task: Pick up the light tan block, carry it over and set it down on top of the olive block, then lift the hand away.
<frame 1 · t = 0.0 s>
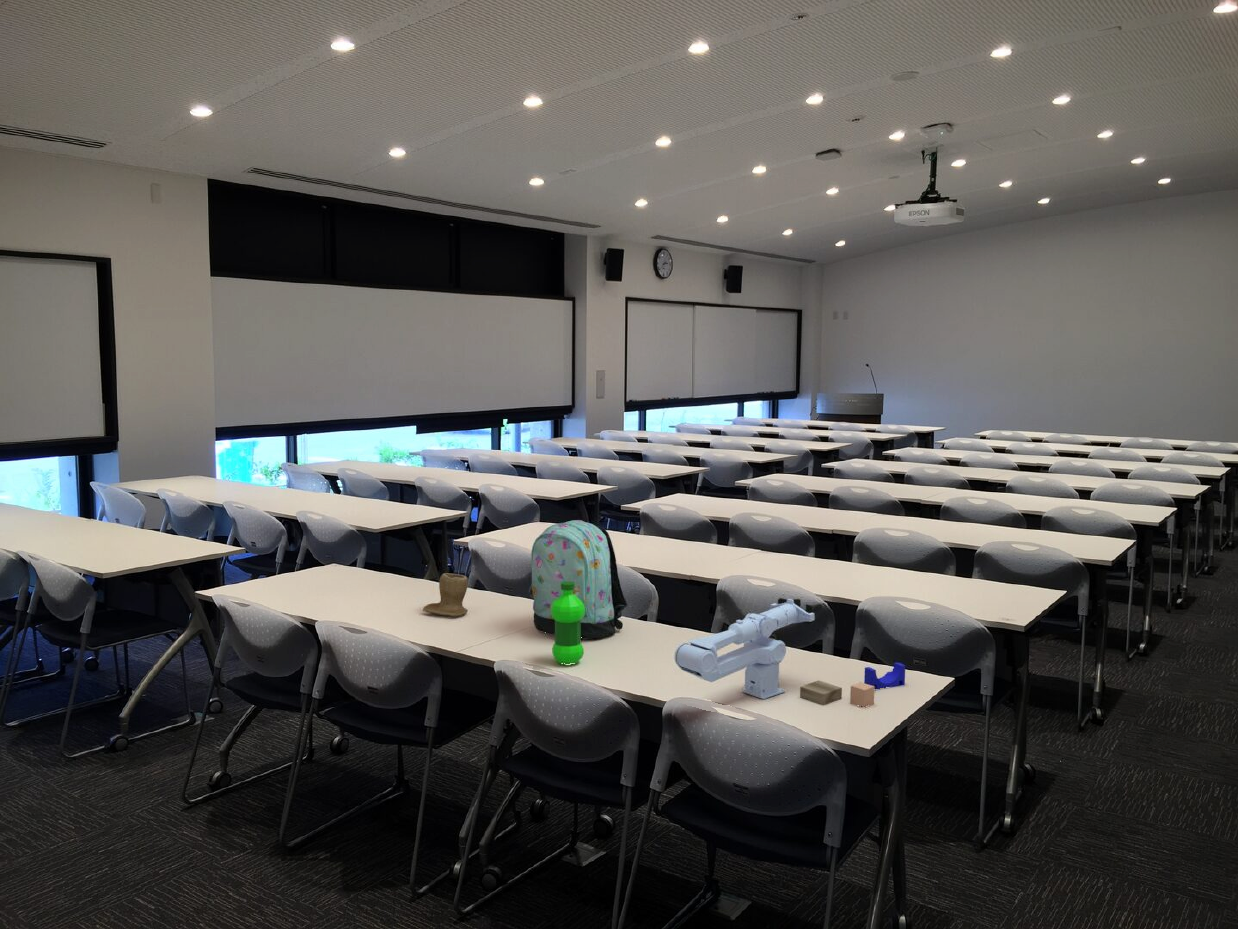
hand: (810, 605, 276), 22 cm above the table, tool horizontal, fingers open, 7 cm apart
blue cradle block: (882, 686, 272), on the table
light tan block: (862, 704, 257), on the table
brown boot: (448, 614, 347), on the table
plastic bottle: (567, 663, 291), on the table
olive block: (820, 697, 262), on the table
backpack: (574, 634, 323), on the table
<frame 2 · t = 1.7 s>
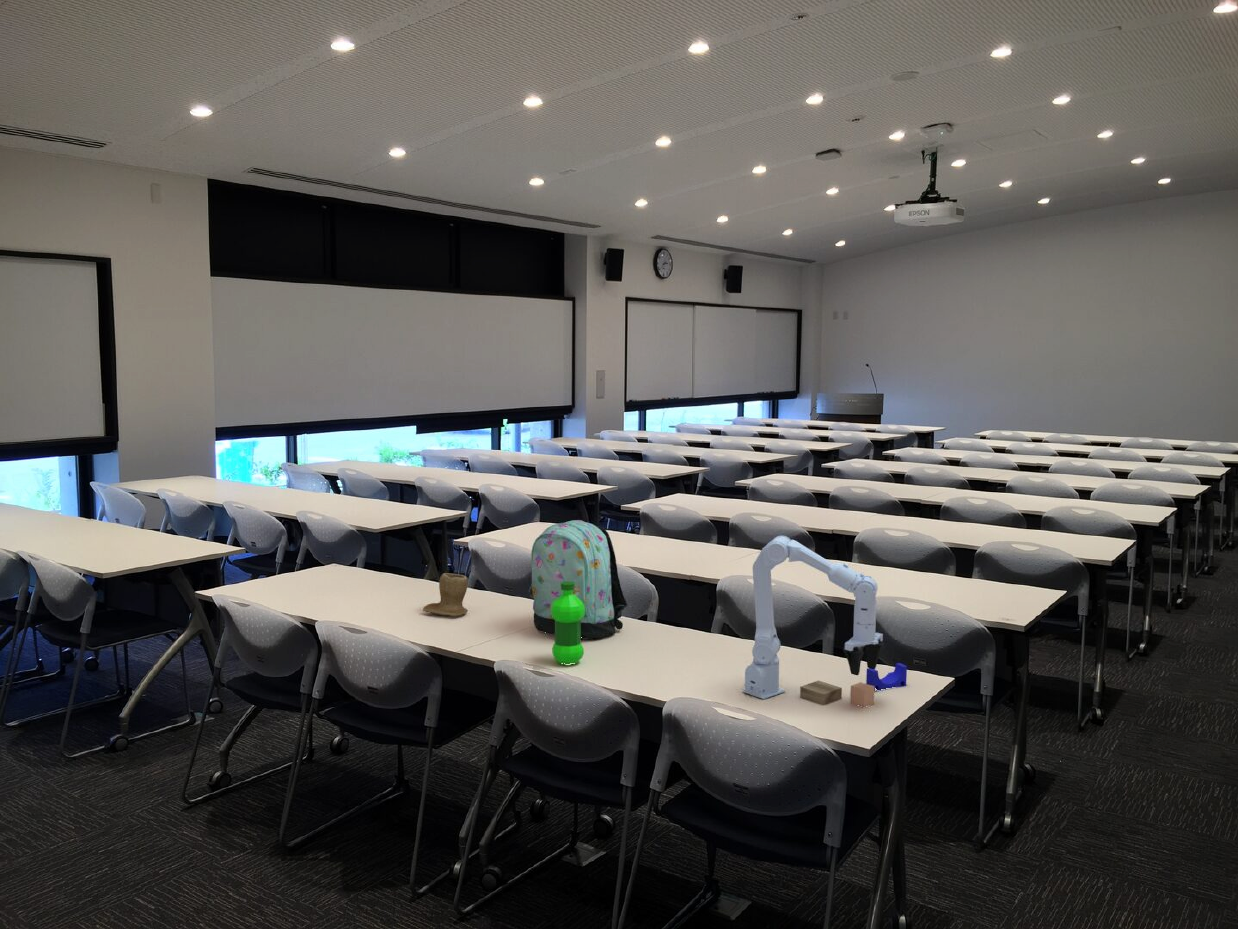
hand: (863, 671, 256), 9 cm above the table, tool pointing down, fingers open, 7 cm apart
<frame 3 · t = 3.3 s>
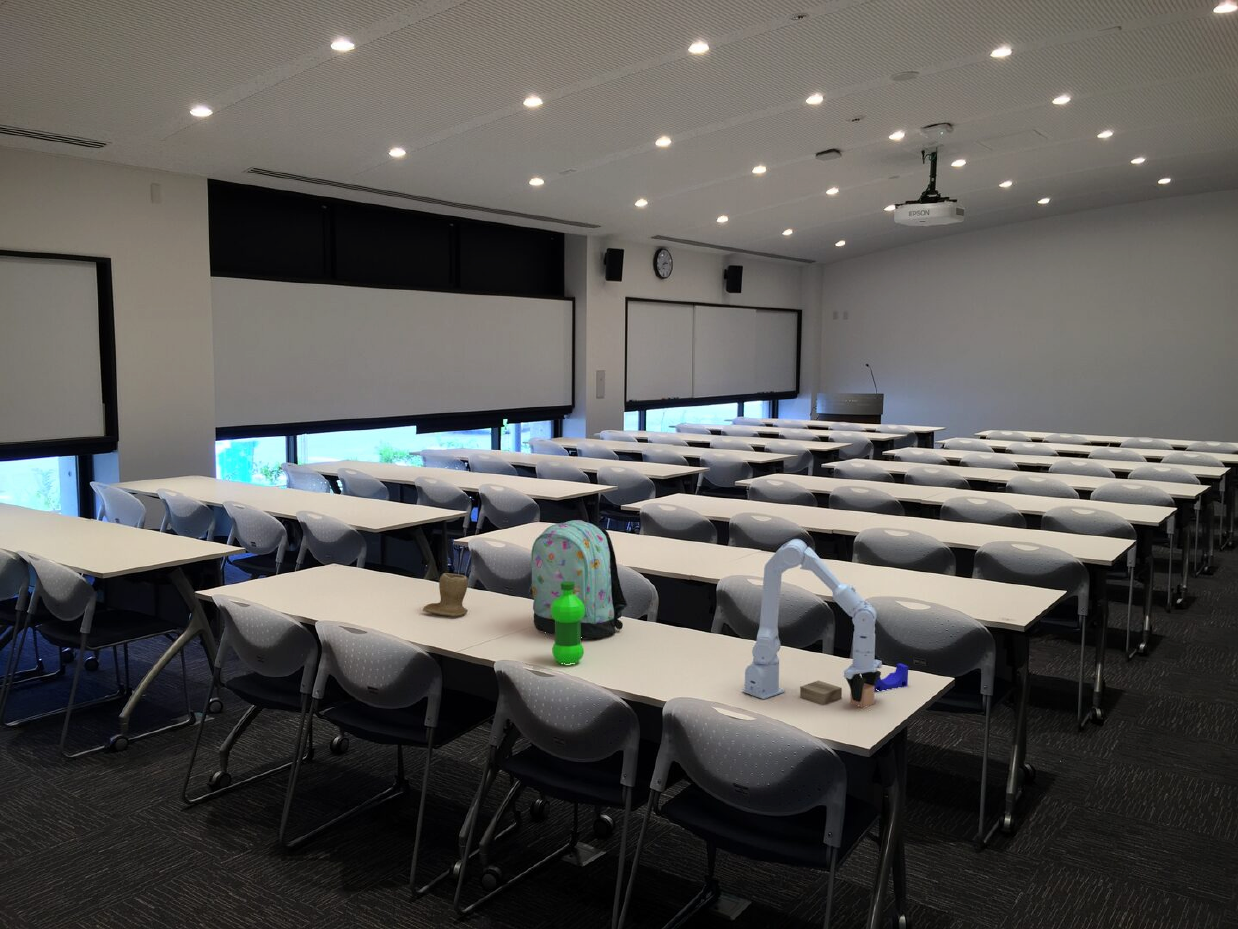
hand: (862, 698, 257), 1 cm above the table, tool pointing down, fingers closed on light tan block, 4 cm apart
light tan block: (862, 703, 257), on the table, touching gripper
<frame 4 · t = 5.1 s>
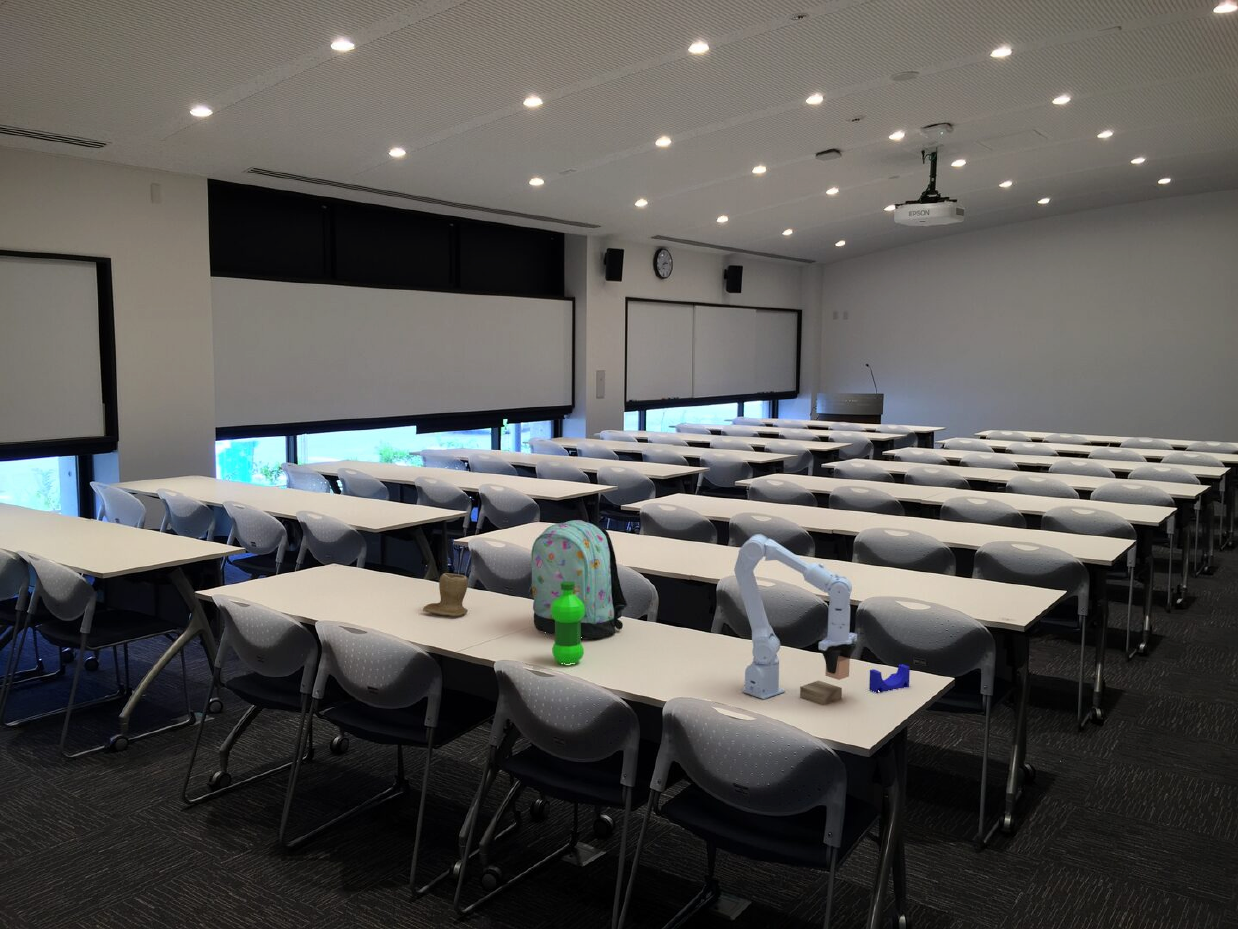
hand: (837, 670, 259), 8 cm above the table, tool pointing down, fingers closed on light tan block, 4 cm apart
light tan block: (837, 676, 259), point 7 cm above the table, touching gripper
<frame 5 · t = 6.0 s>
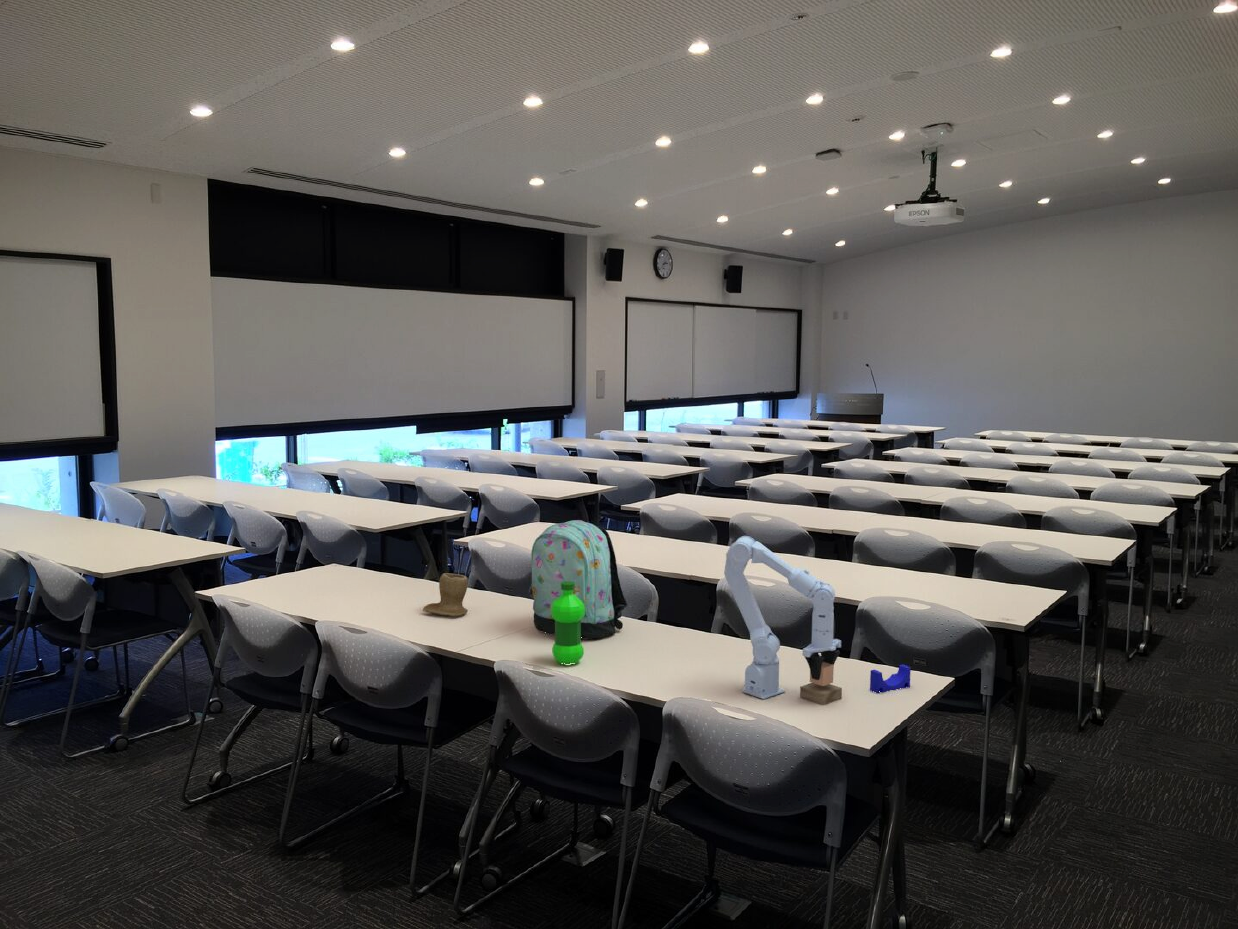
hand: (821, 677, 261), 6 cm above the table, tool pointing down, fingers closed on light tan block, 4 cm apart
light tan block: (821, 682, 261), point 4 cm above the table, touching gripper
when the fingers open (6 cm above the table, at t = 6.7 s): light tan block drops 1 cm, resting on olive block.
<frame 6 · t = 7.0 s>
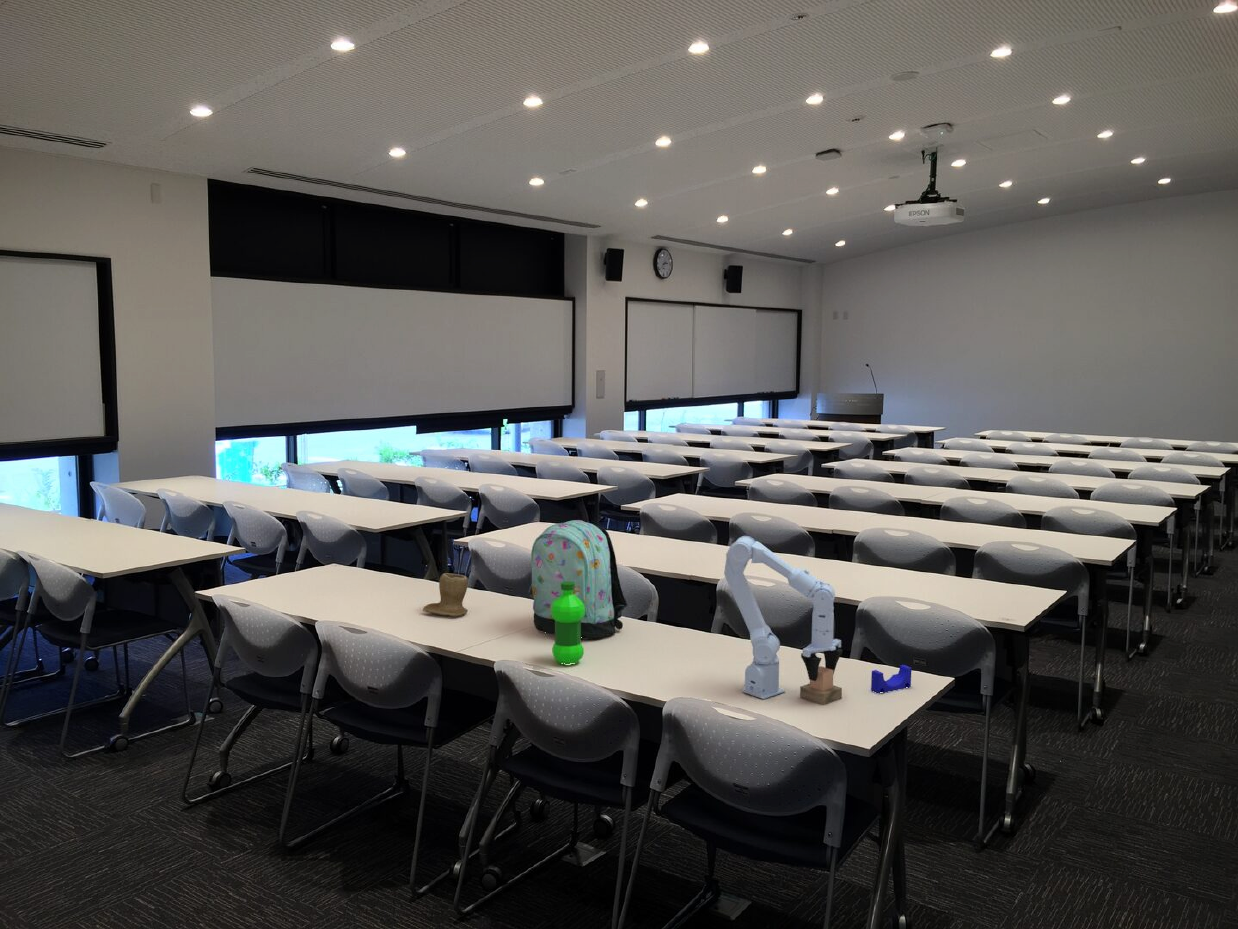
hand: (821, 677, 261), 6 cm above the table, tool pointing down, fingers open, 7 cm apart
light tan block: (821, 687, 261), point 3 cm above the table, touching olive block
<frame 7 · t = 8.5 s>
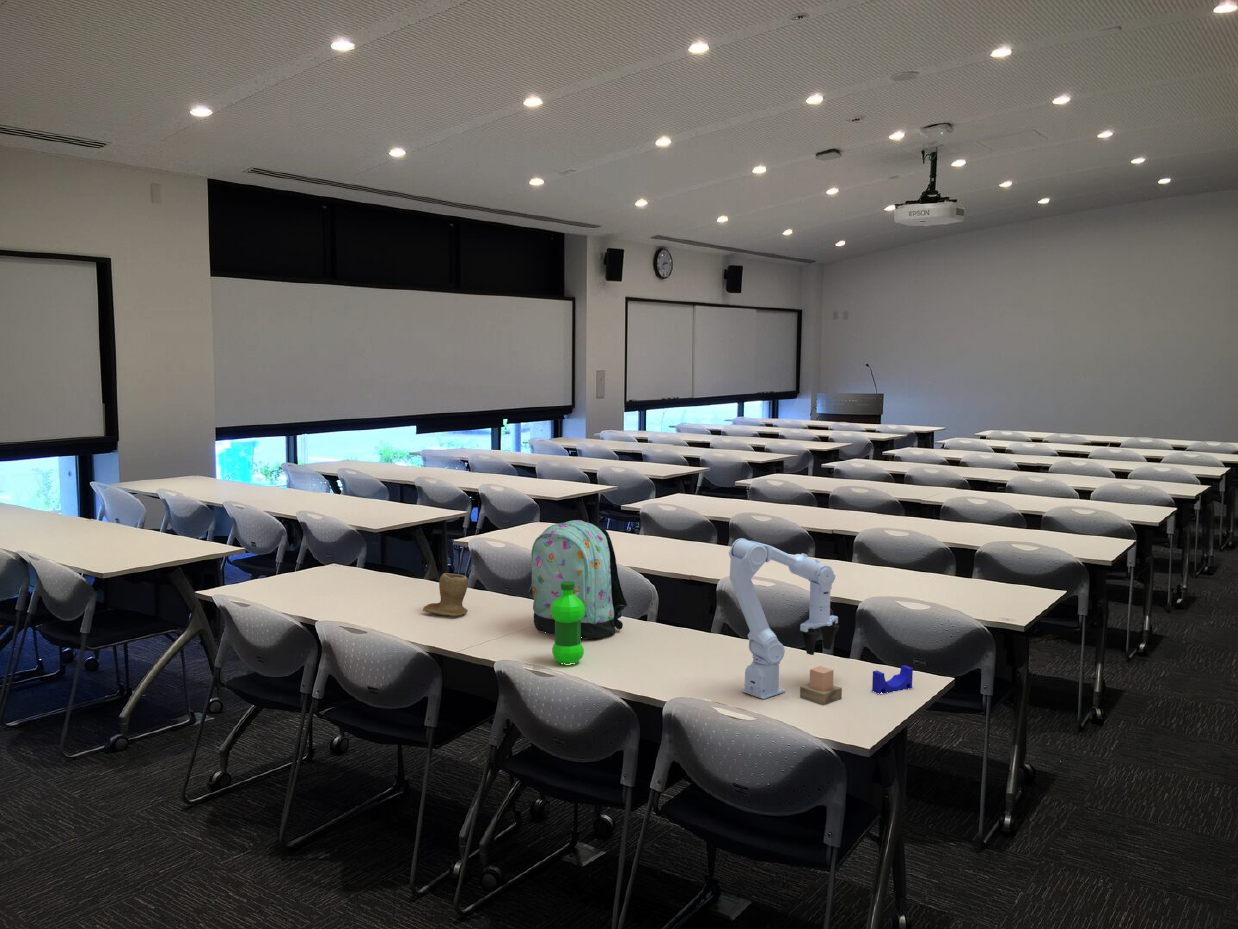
hand: (818, 651, 272), 9 cm above the table, tool pointing down, fingers open, 7 cm apart
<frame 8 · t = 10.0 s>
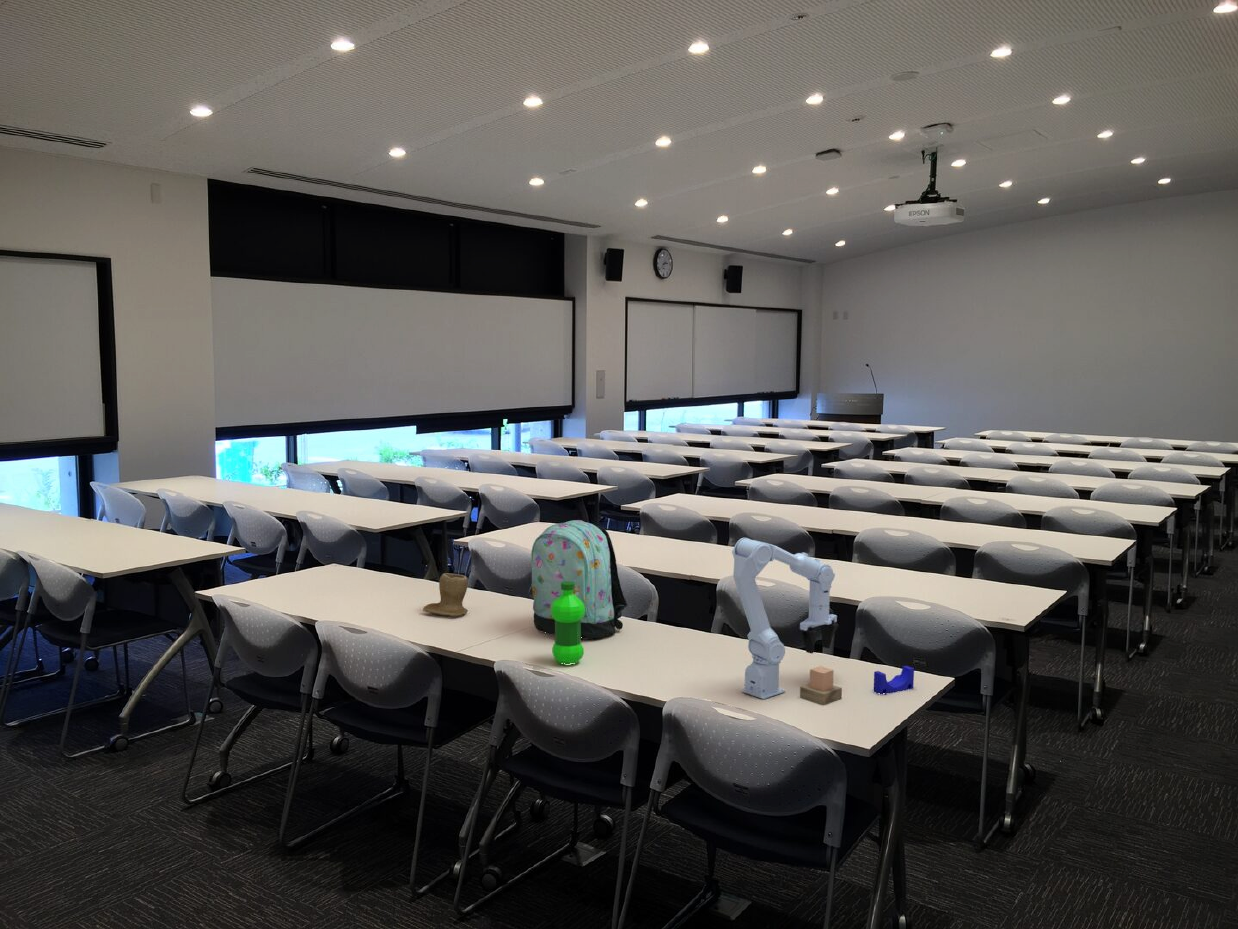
hand: (817, 650, 274), 9 cm above the table, tool pointing down, fingers open, 7 cm apart
at the end: light tan block 0.1 cm off-centre on the olive block, point 3.0 cm above the olive block's base; light tan block tilted 0°; the gripper is holding nothing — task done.
